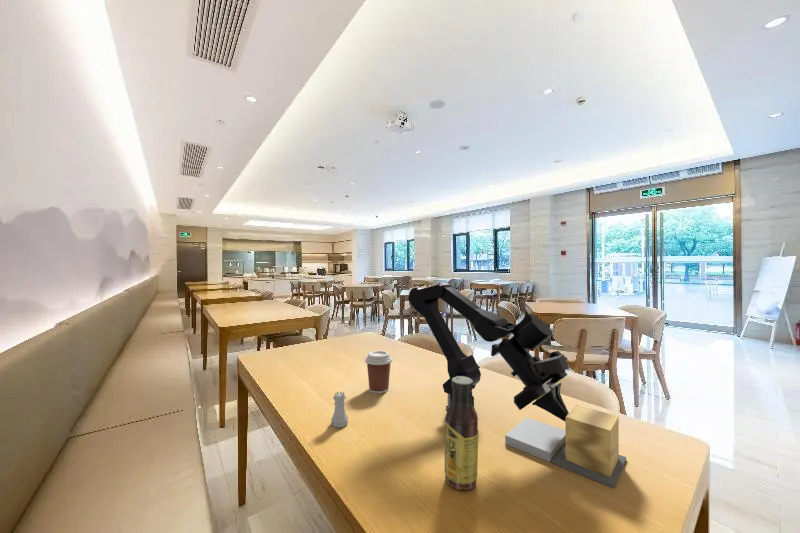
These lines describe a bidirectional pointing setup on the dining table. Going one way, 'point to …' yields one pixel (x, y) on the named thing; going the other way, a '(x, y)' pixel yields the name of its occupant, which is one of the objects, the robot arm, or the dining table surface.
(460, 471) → the sauce bottle
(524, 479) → the dining table surface
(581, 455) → the ochre block
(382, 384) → the coffee cup
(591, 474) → the rubber pad
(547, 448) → the block
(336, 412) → the rook chess piece
